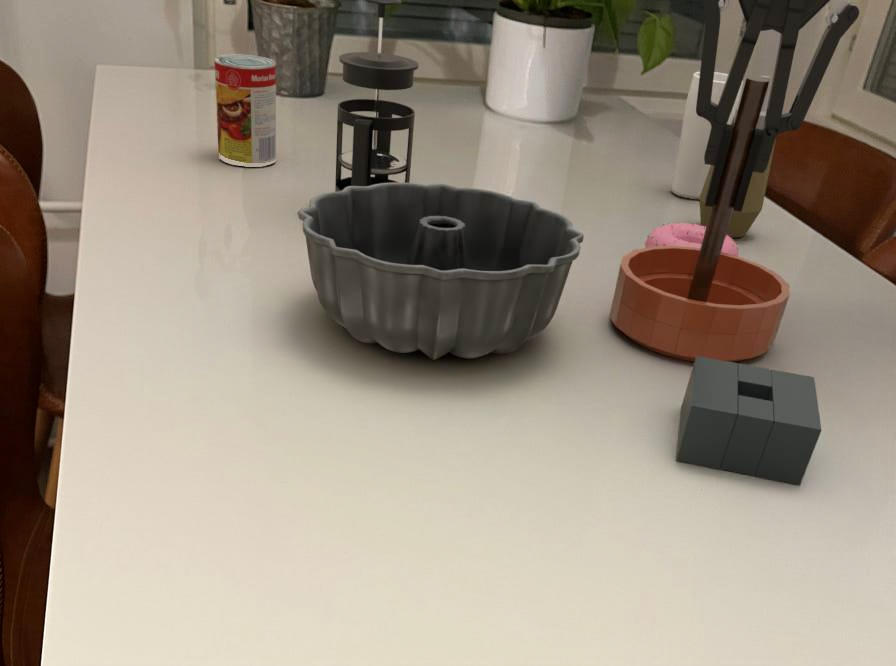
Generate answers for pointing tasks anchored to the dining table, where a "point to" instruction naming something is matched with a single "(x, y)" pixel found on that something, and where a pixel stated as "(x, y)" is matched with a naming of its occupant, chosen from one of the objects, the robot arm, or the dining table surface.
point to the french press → (378, 75)
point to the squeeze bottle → (755, 192)
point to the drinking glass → (696, 140)
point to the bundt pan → (437, 266)
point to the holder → (749, 420)
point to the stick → (728, 187)
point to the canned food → (246, 107)
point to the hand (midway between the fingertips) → (723, 204)
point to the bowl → (698, 305)
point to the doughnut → (685, 237)
